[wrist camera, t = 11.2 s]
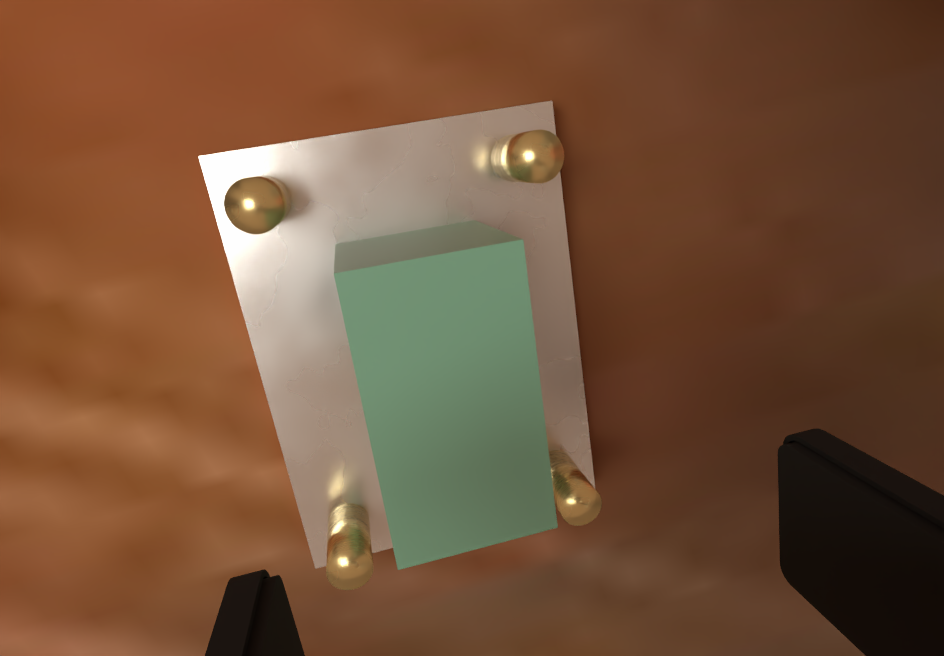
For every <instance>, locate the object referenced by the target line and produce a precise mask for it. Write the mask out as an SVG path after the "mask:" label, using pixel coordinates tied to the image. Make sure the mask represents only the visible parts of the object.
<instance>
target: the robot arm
mask: <svg viewBox="0 0 944 656" xmlns="http://www.w3.org/2000/svg"><path fill="white" fill-rule="evenodd" d="M778 486H779V535H780V566H781V569H782V572H783V574H784V577H785V578H786V580H787V581H788V582H789V584H790V585H791V586H792V587H793V588H794V589H796V590H797V591H798V592H799V593H800V594H801V595H802V596H803V597H804V598H805V599H806V600H807V601H808V602H809V603H810V604H811V605H813V606H814V607H815V608H816V609H817V610H818V611H819V612H820V613H821V614H822V615H823V616H824V617H825V618H826V619H827V620H829V621H830V622H831V623H832V624H833V625H834V626H835V627H836V628H837V629H838V630H839V631H840V632H841V633H842V634H843V635H844V636H846V637H847V638H848V639H849V640H850V641H851V642H852V643H853V644H854V645H855V646H856V647H857V648H858V649H859V650H860V651H861V652H863V653H864V654H865V655H866V656H944V496H943V495H941V494H940V493H938V492H936V491H934V490H932V489H930V488H929V487H927V486H925V485H923V484H921V483H919V482H917V481H916V480H914V479H912V478H910V477H908V476H906V475H905V474H903V473H901V472H899V471H897V470H895V469H894V468H892V467H890V466H888V465H886V464H884V463H883V462H881V461H879V460H877V459H875V458H873V457H871V456H870V455H868V454H866V453H864V452H862V451H860V450H859V449H857V448H855V447H853V446H851V445H849V444H848V443H846V442H844V441H842V440H840V439H838V438H836V437H835V436H833V435H831V434H829V433H827V432H825V431H824V430H821V429H811V430H807V431H803V432H799V433H796V434H792V435H789V436H787V437H786V438H785V440H784V442H783V445H782V446H780V447H779V449H778ZM205 656H305V655H304V651H303V648H302V645H301V641H300V638H299V635H298V631H297V628H296V625H295V621H294V618H293V615H292V611H291V608H290V605H289V601H288V598H287V595H286V591H285V588H284V585H283V582H282V579H281V577H280V576H279V575H277V576H273V577H270V576H269V574H268V572H267V571H266V570H260V571H257V572H253V573H249V574H245V575H241V576H237V577H233V578H231V579H230V580H229V582H228V584H227V587H226V590H225V594H224V597H223V600H222V603H221V606H220V609H219V613H218V616H217V619H216V622H215V625H214V628H213V632H212V635H211V638H210V641H209V644H208V648H207V651H206V654H205Z"/></svg>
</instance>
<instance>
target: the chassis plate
mask: <svg viewBox="0 0 944 656" xmlns="http://www.w3.org/2000/svg"><path fill="white" fill-rule="evenodd" d="M198 157H199V160H200V164H201V167H202V171H203V174H204V178H205V181H206V185H207V188H208V192H209V195H210V199H211V202H212V206H213V210H214V213H215V217H216V220H217V224H218V227H219V231H220V234H221V238H222V241H223V245H224V248H225V252H226V255H227V259H228V262H229V266H230V269H231V273H232V276H233V280H234V283H235V287H236V290H237V294H238V298H239V301H240V305H241V308H242V312H243V315H244V319H245V322H246V326H247V329H248V333H249V336H250V340H251V343H252V347H253V350H254V354H255V357H256V361H257V364H258V368H259V371H260V375H261V379H262V382H263V386H264V389H265V393H266V396H267V400H268V403H269V407H270V410H271V414H272V417H273V421H274V424H275V428H276V431H277V435H278V438H279V442H280V445H281V449H282V452H283V456H284V459H285V463H286V467H287V470H288V474H289V477H290V481H291V484H292V488H293V491H294V495H295V498H296V502H297V505H298V509H299V512H300V516H301V519H302V523H303V526H304V530H305V533H306V537H307V540H308V544H309V548H310V551H311V555H312V558H313V562H314V565H315V569H316V568H320V567H323V566H326V575H327V579H328V580H329V582H330V583H331V584H332V585H333V586H334V587H336V588H338V589H342V590H353V589H357V588H359V587H361V586H363V585H364V584H365V583H366V582H368V580H369V579H370V578H371V576H372V573H373V558H372V553H375V552H379V551H382V550H386V549H390V548H393V545H392V540H391V535H390V531H389V526H388V522H387V517H386V512H385V508H384V503H383V499H382V494H381V489H380V485H379V480H378V476H377V471H376V466H375V462H374V457H373V453H372V448H371V443H370V439H369V434H368V430H367V425H366V420H365V416H364V411H363V407H362V402H361V397H360V393H359V388H358V384H357V379H356V374H355V370H354V365H353V361H352V356H351V351H350V347H349V342H348V338H347V333H346V328H345V324H344V319H343V315H342V310H341V305H340V301H339V296H338V292H337V287H336V282H335V278H334V259H335V244H339V243H345V242H351V241H356V240H362V239H368V238H374V237H380V236H385V235H391V234H397V233H403V232H408V231H414V230H420V229H426V228H432V227H437V226H443V225H449V224H455V223H461V222H466V221H472V220H476V221H478V222H481V223H483V224H486V225H488V226H491V227H493V228H496V229H498V230H501V231H504V232H506V233H509V234H511V235H514V236H516V237H519V238H521V239H523V241H524V249H525V258H526V266H527V275H528V283H529V291H530V300H531V308H532V316H533V325H534V333H535V342H536V350H537V358H538V367H539V375H540V383H541V392H542V400H543V408H544V417H545V425H546V434H547V442H548V450H549V459H550V467H551V475H552V484H553V492H554V500H555V506H556V507H557V509H558V511H559V512H560V514H561V515H562V517H563V518H564V520H565V521H566V522H567V523H569V524H571V525H575V526H581V525H585V524H587V523H589V522H591V521H592V520H594V519H595V518H596V517H597V515H598V514H599V512H600V510H601V506H602V500H601V496H600V495H599V493H598V492H597V491H596V489H595V482H594V473H593V464H592V455H591V446H590V436H589V427H588V418H587V409H586V400H585V391H584V382H583V373H582V364H581V355H580V346H579V337H578V328H577V319H576V310H575V301H574V292H573V283H572V274H571V265H570V256H569V247H568V238H567V229H566V220H565V211H564V202H563V193H562V184H561V175H560V170H561V168H562V166H563V162H564V149H563V146H562V143H561V142H560V140H559V139H558V137H557V136H556V130H555V121H554V112H553V103H552V101H547V102H541V103H534V104H528V105H521V106H515V107H509V108H502V109H496V110H490V111H483V112H477V113H471V114H464V115H458V116H452V117H445V118H439V119H432V120H426V121H420V122H413V123H407V124H401V125H394V126H388V127H382V128H375V129H369V130H363V131H356V132H350V133H343V134H337V135H331V136H324V137H318V138H312V139H305V140H299V141H293V142H286V143H280V144H274V145H267V146H261V147H254V148H248V149H242V150H235V151H229V152H223V153H216V154H210V155H204V156H198Z"/></svg>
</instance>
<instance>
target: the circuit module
mask: <svg viewBox="0 0 944 656" xmlns="http://www.w3.org/2000/svg"><path fill="white" fill-rule="evenodd" d="M334 278H335V282H336V287H337V292H338V296H339V301H340V305H341V310H342V315H343V319H344V324H345V328H346V333H347V338H348V342H349V347H350V351H351V356H352V361H353V365H354V370H355V374H356V379H357V384H358V388H359V393H360V397H361V402H362V407H363V411H364V416H365V420H366V425H367V430H368V434H369V439H370V443H371V448H372V453H373V457H374V462H375V466H376V471H377V476H378V480H379V485H380V489H381V494H382V499H383V503H384V508H385V512H386V517H387V522H388V526H389V531H390V535H391V540H392V545H393V549H394V554H395V558H396V563H397V568H398V570H400V569H404V568H407V567H411V566H415V565H419V564H422V563H426V562H430V561H434V560H438V559H441V558H445V557H449V556H453V555H456V554H460V553H464V552H468V551H471V550H475V549H479V548H483V547H486V546H490V545H494V544H498V543H501V542H505V541H509V540H513V539H516V538H520V537H524V536H528V535H531V534H535V533H539V532H543V531H546V530H550V529H554V528H558V526H557V517H556V509H555V500H554V492H553V484H552V475H551V467H550V459H549V450H548V442H547V434H546V425H545V417H544V408H543V400H542V392H541V383H540V375H539V367H538V358H537V350H536V342H535V333H534V325H533V316H532V308H531V300H530V291H529V283H528V275H527V266H526V258H525V249H524V241H523V239H521V238H519V237H516V236H514V235H511V234H509V233H506V232H504V231H501V230H498V229H496V228H493V227H491V226H488V225H486V224H483V223H481V222H478V221H476V220H472V221H466V222H461V223H455V224H449V225H443V226H437V227H432V228H426V229H420V230H414V231H408V232H403V233H397V234H391V235H385V236H380V237H374V238H368V239H362V240H356V241H351V242H345V243H339V244H335V259H334Z"/></svg>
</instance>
